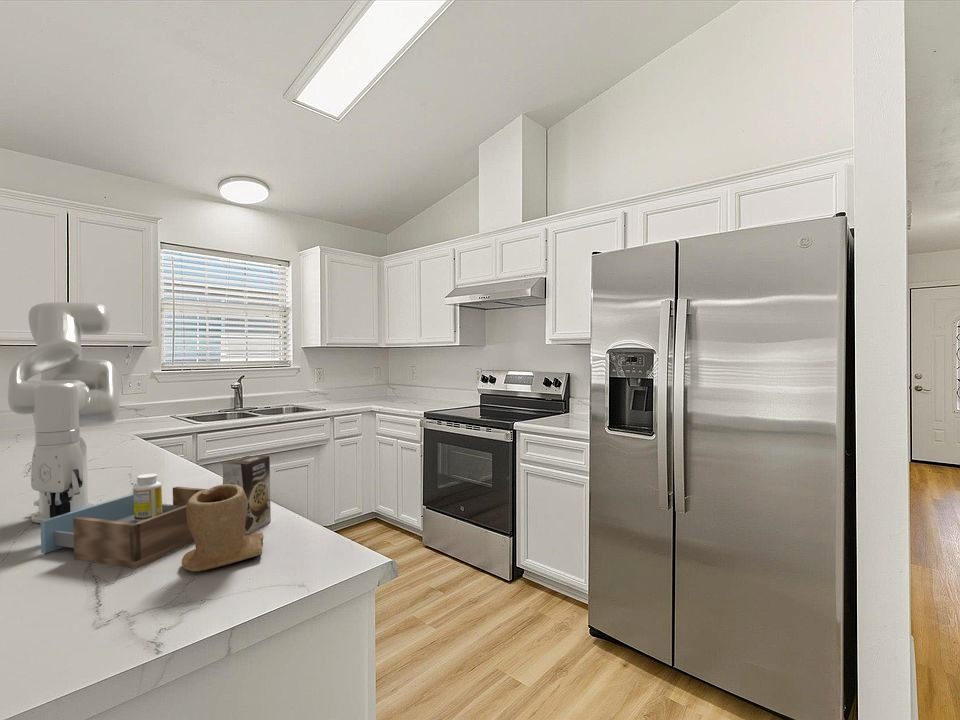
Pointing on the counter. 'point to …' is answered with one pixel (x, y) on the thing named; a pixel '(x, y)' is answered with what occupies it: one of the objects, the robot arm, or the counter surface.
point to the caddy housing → (134, 535)
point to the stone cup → (219, 528)
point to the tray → (61, 527)
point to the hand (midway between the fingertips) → (60, 520)
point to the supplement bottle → (147, 497)
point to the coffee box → (252, 487)
